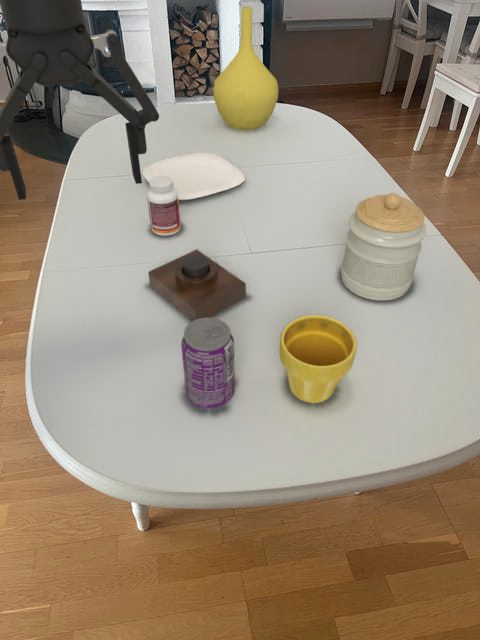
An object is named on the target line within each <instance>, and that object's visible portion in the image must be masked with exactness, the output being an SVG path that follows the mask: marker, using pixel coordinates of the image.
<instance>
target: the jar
mask: <svg viewBox="0 0 480 640" xmlns="http://www.w3.org/2000/svg"><path fill="white" fill-rule="evenodd" d="M425 219H426V218H425V213H424V211H423V210H422V209H421V208H420V207H419V206H417V205H416V204H415V203H414V202H412V201H411V200H409V199H408V198H406V197H403V196H400V195H399V194H398V193H396V192H390V193H388V194H378V195H374V196H372V197H369V198H366V199H363V200H361V201H359V203H358V204H357V205H356V207H355V211H354V212H353V213H352V214H351V215H350V216H349V218H348V226H349V231H348V232H347V234H346V237H345V249H344V254H343V260H342V262H341V267H340V274H341V275H340V276H341V281H342V283H343V285H344V286H345V288H346V289H347V290H349V291H350V292H352V293H354V295H357V296H359V297H361V298H365V299H368V300H372V301H392V300H396V299H398V298H401V297H402V296H404V295H405V294H406V293H408V291H409V289H410V287H411V286H412V284H413V281H414V276H415V271H416V266H417V263H418V259H419V255H420V254H421V251H422V247H423V246H422V240H424V239H425V237H426V235H427V226H426V224H425V223H424V222H425Z"/></svg>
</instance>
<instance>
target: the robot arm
mask: <svg viewBox="0 0 480 640" xmlns="http://www.w3.org/2000/svg"><path fill="white" fill-rule="evenodd" d="M0 10H1V14H2V17H3V21H4V25H5V29H6V33H7V39H6V41H0V66H1V65H2V62H3V58H4V57H7V56H8V57H9V59H10V60H11V61H12V62H14V64H15V65H16V66H17V67H18V68H20V71H19V72H18V75H17V77H16V79H15V82H14V83H13V85H12V87H11V89H10V91H9V93H8V95H7V96H6V98H5V100H4V102H3V104H2V105H1V108H0V171H1V172H10V175H11V179H12V181H13V185H14V188H15V191H16V194H17V195H16V196H17V198H18V201H23V200H27V187H26V185H25V182H24V181H25V180H24V178H23V174H22V171H21V168H20V164H19V161H18V157H17V154H16V150H15V147H14V144H13V141H12V136H11V135H7V132H8V130H9V129H10V127H11V125H12V123H13V122H14V120H15V117H16V116H17V114H18V112H19V111H20V108H21V107H22V105H23V103H24V102H25V100H26V98H27V96H28V94H30V92H31V90H32V88H33V87H34V85H35V83H36V84H37V85H39V86H43V88H49V87H50V88H51V87H54V86H57V85H63V86H73V85H75V83H77V82H78V81H79V80H81V81H83V82H84V83H85V84H86V85H87V86H88V87H89V88H91V89H92V90H94V91H95V92H96V93H97V94H98V95H99V96H100V97H101V98H102V99H103V100H105V102H107V103H108V105H110V106H111V107H112V108H113V109H114V110H115V111H116V112H117V113H118V114H120V115H121V116H122V117H123V118H124V119H125V120H127V121H128V122H124V124H125V131H126V138H127V146H128V152H129V157H130V158H129V159H130V165H131V172H132V173H131V174H132V177H133V179H134V182H135V185H139V184H143V179H142V172H141V165H140V157H139V155H144V154H145V155H146V154H147V150H148V148H147V138H146V131H145V129H146V126H147V125H148V124H150V123H151V122H153V123H154V122H158V121H159V119H160V115H159V111H158V110H157V107H156V106H155V105H154V103H153V101H152V99H151V98H150V97H149V95H148V93H147V92H146V90H145V88H144V87H143V85H142V84H141V82H140V80H139V78H138V76H137V75H136V73H135V72H134V71H133V68H132V67H131V66H130V64H129V62H128V61H127V59H126V57H125V56H124V54H123V49H122V45H121V40H120V38H119V36H118V34H117V32H116V30H114V29H112V28H108V29H106V30H105V32H104V33H100V34H94V35H90V34H89V32H88V30H87V27H86V21H85V16H84V9H83V4H82V0H0ZM95 49H96V50H99V51H100V52H101V53H102V56H104V57H105V58H111V59H112V62H113V64H114V66H115V68H116V69H117V71H118V73H119V75H121V77H122V79H123V80H124V82H125V84H126V85H127V86H128V88H129V90H130V91H131V93H132V94H133V96H134V97H135V99H136V100H137V102H138V104H139V106H140V107H141V109H139V110H137V109H136V108H135V107H134V106H133V105H132V103H130V102H129V101H128V100H127V99H126V98H125V97H124V96H123V95H121V94H120V93H119V92H118V91H117V90H116V89H115V88H114V87H113V86H112V85H111V84H110V83H109V82H107V80H106V79H105V78H104V77H102V75H100V74H99V73H98V71H97V70H96V69H95V68H94V67H93V66H92V65H91V64H90V63H89V62H90V60H91V57H92V56H93V53H94V51H95Z"/></svg>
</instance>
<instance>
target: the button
mask: <svg viewBox="0 0 480 640" xmlns="http://www.w3.org/2000/svg"><path fill="white" fill-rule="evenodd" d="M182 263H183V273H184V275H185V276H186V277H190V278H200V277H203V276H205V275H207V274H208V260H207V258H206V257H204V256H202V255H190V256H187V257H186V258H184V260H183V262H182Z"/></svg>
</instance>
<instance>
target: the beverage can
mask: <svg viewBox="0 0 480 640" xmlns="http://www.w3.org/2000/svg"><path fill="white" fill-rule="evenodd" d="M231 331H232V330H231V328H230V326H229V325H228V324H227V323H226V322H225V321H224V320H221V319H219V318H216V317H206V318H200V319H197V320H194V321H192V320H191V322H190V323H188V325H186V326H185V328H184V331H183V337H182V339H181V345H180V346H181V356H182V368H183V377H184V388H185V395H186V397H187V399H188V400H189V401H190V402H191V403H192V404H193V405H195V406H196V407H199V408H203V409H215V408H219V407H221V406H224V405H226V404H227V403H228V402H229V401H231V399H232V398H233V396H234V394H235V338H234V336H233V334H232V332H231Z"/></svg>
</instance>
